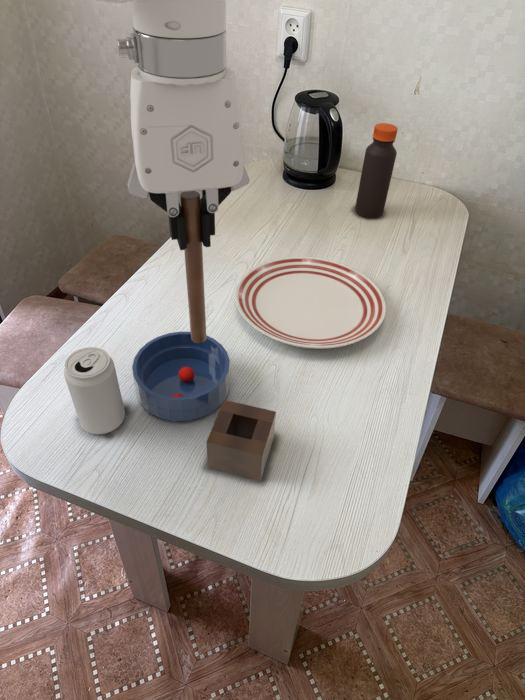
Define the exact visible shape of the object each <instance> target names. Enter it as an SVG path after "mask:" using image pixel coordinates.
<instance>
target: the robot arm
mask: <svg viewBox="0 0 525 700" xmlns="http://www.w3.org/2000/svg"><path fill="white" fill-rule="evenodd" d="M96 1H97V2H105V3H113V4H125V3H130V9H131V16H132V25H133V26H132V31H133V32H130V36H126V37H125V38H121V39H120V38H118V39H117V40H116V41H117V49H118V56H119V58H120V59H125V58H126V59H129V60H133V62H134V64H137V66H135V67H134V68H132V69H131V74H130V76H131V77H130V85H129V86H130V89H129V91H130V92H129V100H130V109H129V111H130V112H129V113H130V114H129V115H130V127H131V128H130V130H131V143H132V153H133V159H134V160H133V163H132V167H131V170H130V173H129V175H128V176H129V177H128V180H127V184H126V187H127V191H128V194H129V195H131V196H133V197H136V198H141V199H144V200H150V201H152V203H154V204H155V205H156V206H157V207H159V208H160V209H161V210H163V211H164V212H166V213H167V215H168V227H169V234H170V238H171V239H170V240H171V241H175V240H176V241H177V244H178V247H179V251H184V250H185V248H187V242H186V228H185V217H184V214H183V212H182V211H181V203H180V201H179V193H182V192H186V191H197V192H198V191H201V197H200V209H201V210H200V211H201V233H202V247H205V248H210V247H211V245H212V244H211V237H212V236H215V235H216V213H217V212H218V211H219V206H220V205H221V204H222V203H223V202H224V201H225V200H226V199H227V198H228V196H229V195H230V194H231V193H232V192H236V191H237V190H240V189H241V188H244V187H245V186H248V184H249V183H250V181H251V180H250V177H249V174H248V172H247V169H246V167H245V165H244V164H245V160H244V159H245V157H244V138H243V121H242V110H241V99H240V92H239V86H238V80H237V74H236V72H235V71H234V70H233V69H231V68H230V67H229V66H227V16H226V15H227V13H226V12H227V10H226V9H227V6H226V3H227V1H226V0H96Z"/></svg>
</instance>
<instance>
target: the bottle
mask: <svg viewBox="0 0 525 700" xmlns="http://www.w3.org/2000/svg"><path fill="white" fill-rule="evenodd" d="M398 130H399V129H398V127H397V126H396V125H394V124H392V123H387V122H380V123H376V124H375V125H374V128H373V132H372V142H371V143H370V144H369V145H368V146H367V147H366V148H365V152H364V158H363V163H362V169H361V174H360V180H359V185H358V190H357V196H356V201H355V207H354V210H355V213H356V214H357V215H358V216H359V217H362V218H365V219H378V218H380V217H382V216H383V214H384V211H385V207H386V202H387V199H388V193H389V188H390V185H391V180H392V176H393V171H394V168H395V163H396V158H397V154H398V151H397V149H396V148H395V146H394V143H395V142H396V138H397V135H398Z"/></svg>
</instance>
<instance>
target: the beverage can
mask: <svg viewBox="0 0 525 700" xmlns="http://www.w3.org/2000/svg"><path fill="white" fill-rule="evenodd" d="M109 354H110V353H108V352H107V351H106V350H105V349H102V348H101V347H96V346H88V347H83V348H82V347H81V348H80V349H77V350H75V351H73V352H72V353H71V354H69V356H68V357H66V359H65V362H64V370H63V376H64V379H65V383H66V385H67V388H68V391H69V395H70V397H71V401H72V404H73V407H74V410H75V413H76V416H77V419H78V422H79V425H80V426H81V428H82V429H83V430H84V431H85V432H86V433H89V434H92V435H103V434H108V433H111V432H113V431H114V430H116V429H118V428H119V427H120V426H121V424H123V422H124V420H125V417H126V411H125V406H124V400H123V397H122V392H121V387H120V384H119V379H118V375H117V374H118V373H117V370H116V366H115V362H114V360H113V358H112V357H111V356H110V355H109Z"/></svg>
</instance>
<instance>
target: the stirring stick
mask: <svg viewBox="0 0 525 700" xmlns="http://www.w3.org/2000/svg"><path fill="white" fill-rule="evenodd" d="M179 198H180V206H181V211H182V212H183V214H184V217H185V228H186V242H187V248H185V250H183V251H184V265H185V277H186V290H187V304H188V319H189V328H190V329H189V332H191V340H192V341H193V342H195V343H202V342H204V341H205V340H206V335H207V320H206V318H207V317H206V299H205V298H206V297H205V296H206V295H205V278H204V277H205V275H204V254H203V253H204V252H203V243H202V233H201V211H200V210H201V209H200V199H201V194H200V192H199V191H198V190H197V191H186V192H180V195H179Z"/></svg>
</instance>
